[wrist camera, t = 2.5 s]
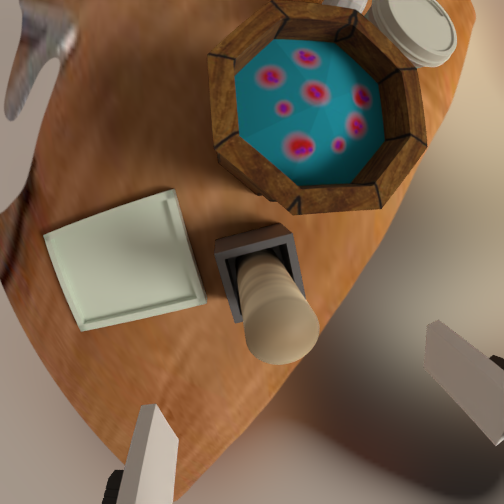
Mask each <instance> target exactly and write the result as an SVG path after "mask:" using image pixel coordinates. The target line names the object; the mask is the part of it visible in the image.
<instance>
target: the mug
mask: <svg viewBox="0 0 504 504" xmlns="http://www.w3.org/2000/svg"><path fill="white" fill-rule="evenodd" d="M366 3H367V0H324V1H323V3H322V4H316V3H306V2H294V1H273V0H271V1H270V2H268V3H267V4H266V5H264V6H263V7H262V8H261V9H259V10H258V11H257V12H256V13H254V14H253V15H252V16H251V17H249V18H248V19H247V20H246V21H244V22H243V23H242V24H241V25H240V26H238V27H237V28H236V29H235V30H234V31H233V32H232V33H230V34H229V35H228V36H227V37H226V38H225V39H224V40H223V41H221V42H220V43H219V44H218V45H217V46H216V47H215V48H214V49H213V50H212V51H211V52H210V53H209V54H208V55H207V61H208V77H209V92H210V106H211V119H212V132H213V144H214V149H215V150H216V151H217V158H218V163H219V164H220V165H222V166H223V167H224V168H225V169H226V170H228V171H229V172H230V173H231V174H233V175H234V176H235V177H236V178H237V179H239V180H240V181H241V182H242V183H243V184H245V185H246V186H247V187H248V188H250V189H251V190H252V191H253V192H254V193H255V194H257V195H258V196H262V195H263V196H264V197H265V198H266V199H268V200H269V201H270V202H278V203H279V204H281V205H282V206H283V207H284V208H285V209H286V210H287V211H289V212H290V213H291V214H292V215H303V214H316V213H329V212H343V211H357V210H373V209H382V207H383V206H384V205H385V204H386V202H387V201H388V200H389V198H390V197H391V196H392V195H393V193H394V192H395V191H396V189H397V188H398V187H399V185H400V184H401V183H402V181H403V180H404V179H405V177H406V176H407V175H408V173H409V172H410V171H411V169H412V168H413V167H414V165H415V164H416V162H417V161H418V160H419V158H420V157H421V155H422V154H423V153H424V151H425V150H426V148H427V136H426V126H425V117H424V110H423V102H422V96H421V89H420V84H419V78H418V73H417V68H416V67H415V66H414V65H413V64H412V63H411V61H410V60H409V59H408V58H407V57H406V56H405V55H404V54H403V53H402V52H401V51H400V50H399V49H398V48H397V47H396V46H395V45H394V44H393V43H392V42H391V41H390V40H389V39H388V38H387V37H386V36H385V35H384V34H383V33H382V32H381V31H380V30H379V29H378V28H377V27H376V26H375V25H373V24H372V23H371V22H370V21H369V20H368V19H367V18H366V17H364V16H363V15H362V14H361V13H362V11H363V10H364V8H365V5H366Z"/></svg>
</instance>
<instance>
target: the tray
mask: <svg viewBox="0 0 504 504" xmlns="http://www.w3.org/2000/svg"><path fill="white" fill-rule="evenodd" d="M43 236H44V239H45V243H46V246H47V249H48V252H49V255H50V258H51V261H52V263H53V266H54V269H55V272H56V274H57V277H58V280H59V282H60V285H61V287H62V290H63V292H64V295H65V297H66V299H67V302H68V304H69V306H70V309H71V311H72V313H73V315H74V318H75V320H76V322H77V324H78V326H79V328H80V330H81V331H86V330H91V329H96V328H101V327H106V326H110V325H115V324H120V323H124V322H129V321H134V320H138V319H143V318H147V317H151V316H156V315H160V314H164V313H169V312H173V311H177V310H181V309H186V308H190V307H194V306H198V305H202V304H206V303H207V295H206V292H205V289H204V286H203V283H202V280H201V277H200V274H199V270H198V267H197V264H196V261H195V257H194V254H193V251H192V248H191V244H190V241H189V237H188V234H187V231H186V227H185V224H184V220H183V217H182V213H181V210H180V206H179V202H178V199H177V195H176V191H175V189H172V190H169V191H165V192H162V193H159V194H156V195H152V196H149V197H146V198H143V199H140V200H137V201H134V202H131V203H128V204H125V205H122V206H119V207H116V208H113V209H110V210H108V211H105V212H102V213H99V214H96V215H94V216H91V217H88V218H86V219H83V220H80V221H78V222H75V223H72V224H70V225H67V226H65V227H62V228H60V229H57V230H55V231H52V232H50V233H47V234H45V235H43Z"/></svg>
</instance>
